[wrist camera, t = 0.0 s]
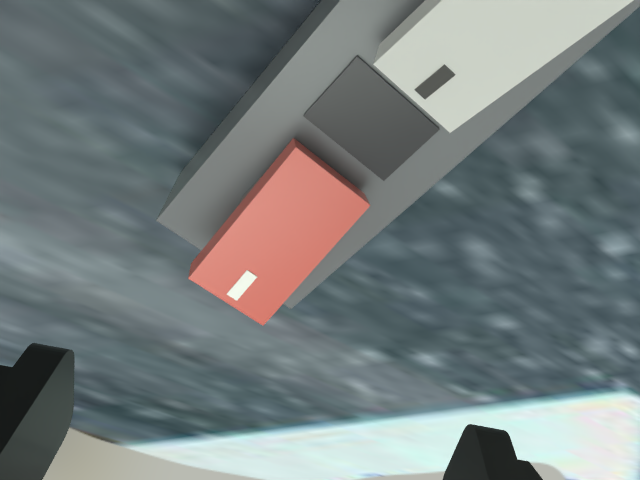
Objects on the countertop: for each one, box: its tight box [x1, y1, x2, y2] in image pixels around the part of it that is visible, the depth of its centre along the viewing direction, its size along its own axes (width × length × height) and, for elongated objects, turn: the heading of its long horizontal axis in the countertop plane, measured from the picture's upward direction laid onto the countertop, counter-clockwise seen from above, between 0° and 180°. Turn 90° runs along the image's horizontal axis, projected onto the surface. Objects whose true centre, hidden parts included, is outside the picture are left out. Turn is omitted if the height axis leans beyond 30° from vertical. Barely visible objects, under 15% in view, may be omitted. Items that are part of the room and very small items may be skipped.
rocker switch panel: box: [156, 0, 640, 309], centre depth 28 cm, size 23×9×6 cm, turn 140°
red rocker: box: [188, 138, 370, 325], centre depth 28 cm, size 8×4×2 cm, turn 140°
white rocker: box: [373, 0, 634, 133], centre depth 22 cm, size 8×4×2 cm, turn 139°
